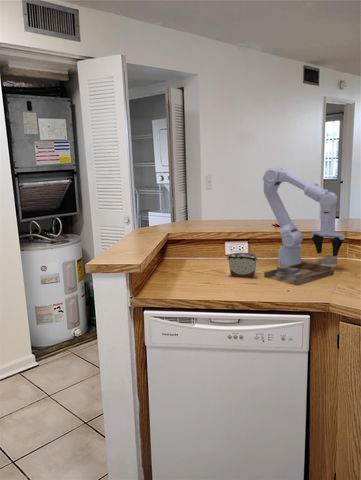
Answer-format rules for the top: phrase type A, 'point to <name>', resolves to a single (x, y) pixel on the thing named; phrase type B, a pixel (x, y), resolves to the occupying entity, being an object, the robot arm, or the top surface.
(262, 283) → the top surface
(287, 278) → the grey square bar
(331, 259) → the grey rectangular block
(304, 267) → the walnut tray
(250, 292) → the top surface
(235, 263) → the food container
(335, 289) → the top surface
